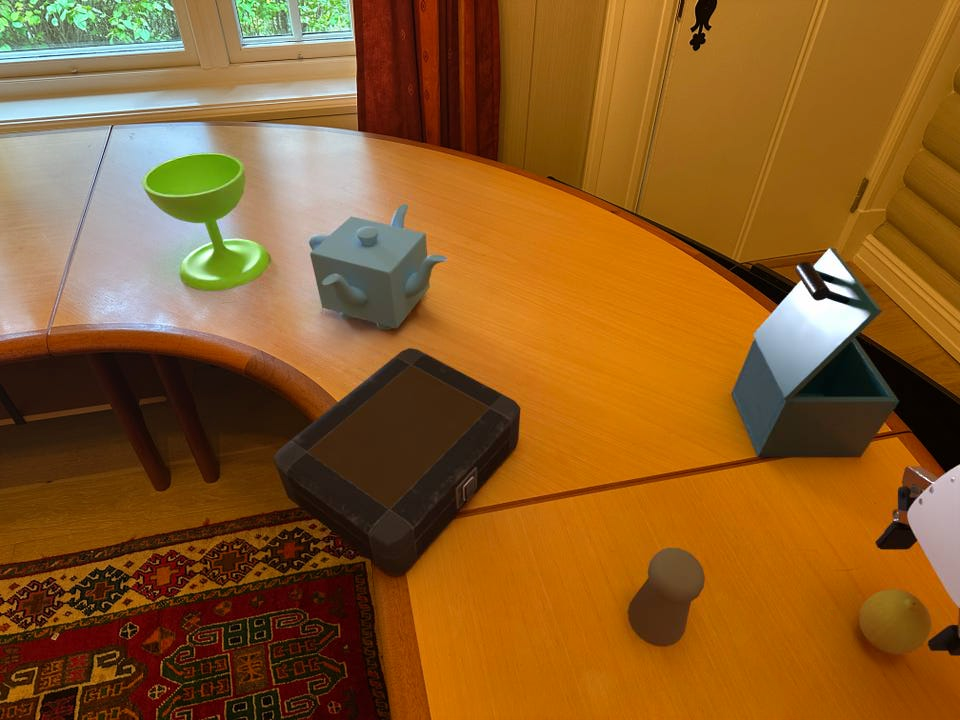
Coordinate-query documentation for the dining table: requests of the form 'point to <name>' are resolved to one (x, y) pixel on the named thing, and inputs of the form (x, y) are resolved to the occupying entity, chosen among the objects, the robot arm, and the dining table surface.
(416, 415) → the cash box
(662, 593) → the cork
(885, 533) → the robot arm
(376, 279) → the teakettle
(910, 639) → the lemon
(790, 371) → the box lid
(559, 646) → the dining table surface
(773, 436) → the teal box
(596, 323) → the dining table surface
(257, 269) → the wineglass
